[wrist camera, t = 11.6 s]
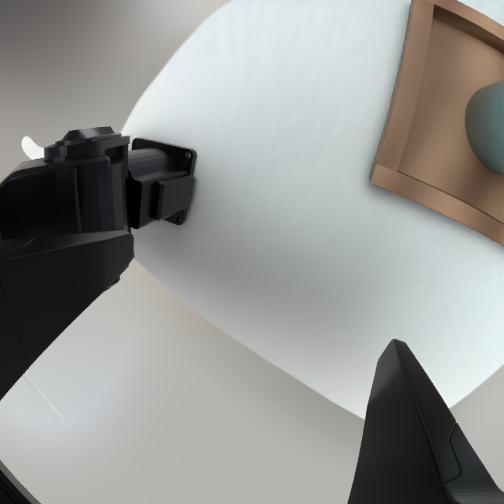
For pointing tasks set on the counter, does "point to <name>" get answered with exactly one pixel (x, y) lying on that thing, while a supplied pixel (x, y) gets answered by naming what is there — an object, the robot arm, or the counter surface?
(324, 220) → the counter surface
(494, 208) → the tray
